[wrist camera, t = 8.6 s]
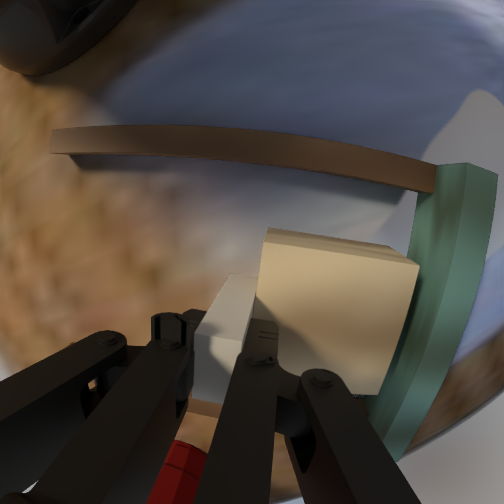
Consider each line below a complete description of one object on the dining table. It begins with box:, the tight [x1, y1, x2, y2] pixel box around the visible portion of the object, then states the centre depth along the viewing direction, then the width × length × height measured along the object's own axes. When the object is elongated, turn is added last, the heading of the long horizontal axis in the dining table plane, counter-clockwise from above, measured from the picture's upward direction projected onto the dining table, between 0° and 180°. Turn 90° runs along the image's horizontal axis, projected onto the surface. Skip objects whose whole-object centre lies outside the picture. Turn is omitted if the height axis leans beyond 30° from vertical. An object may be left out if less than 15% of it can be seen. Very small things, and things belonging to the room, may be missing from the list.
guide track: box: [49, 125, 498, 462], centre depth 15 cm, size 17×24×5 cm
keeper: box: [253, 228, 420, 395], centre depth 15 cm, size 7×7×4 cm
